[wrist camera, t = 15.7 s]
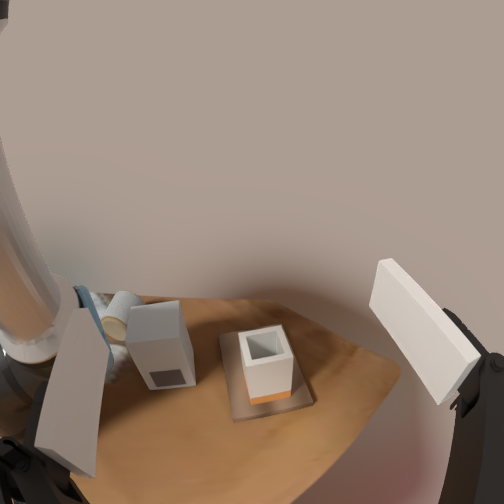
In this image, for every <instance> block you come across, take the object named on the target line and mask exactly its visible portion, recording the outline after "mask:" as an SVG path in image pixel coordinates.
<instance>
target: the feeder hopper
mask: <svg viewBox="0 0 504 504" xmlns="http://www.w3.org/2000/svg"><path fill="white" fill-rule="evenodd" d="M125 345H126V347H127V349H128V351H129V353H130V355H131V357H132V359H133V361H134V363H135V365H136V366H137V368H138V370H139V372H140V374H141V375H142V377H143V379H144V381H145V382H146V384H147V386H148V388H149V389H150V390H159V389H170V388H180V387H189V386H196V377H195V365H194V352H193V347H192V344H191V341H190V338H189V334H188V331H187V327H186V324H185V321H184V317H183V313H182V310H181V306H180V303H179V300H178V301H171V302H164V303H156V304H149V305H141V306H134V307H131V310H130V315H129V320H128V326H127V331H126V337H125Z"/></svg>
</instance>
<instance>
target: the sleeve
mask: <svg viewBox="0 0 504 504" xmlns="http://www.w3.org/2000/svg"><path fill="white" fill-rule="evenodd" d="M238 336H239V343H240V351H241V358H242V365H243V372H244V377H245V381H246V386H247V390H248V394H249V398H250V403H251V405H254V404H259V403H264V402H269V401H274V400H278V399H283V398H287V397H291V384H292V371H293V354H292V352H291V349H290V347H289V344H288V342H287V339H286V337H285V334H284V332H283V329H282V326H281V325H278V326H273V327H268V328H263V329H257V330H252V331H246V332H240V333H238Z"/></svg>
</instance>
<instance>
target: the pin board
mask: <svg viewBox="0 0 504 504" xmlns="http://www.w3.org/2000/svg"><path fill="white" fill-rule="evenodd" d="M278 325H281V326H282V329H283V332H284V334H285V337H286V339H287V342H288V344H289V347H290V349H291V352H292V354H293V371H292V384H291V397H287V398H283V399H278V400H274V401H269V402H264V403H259V404H254V405H251V403H250V398H249V394H248V390H247V386H246V381H245V377H244V372H243V365H242V358H241V351H240V343H239V336H238V333H240V332H246V331H252V330H257V329H263V328H268V327H273V326H278ZM218 336H219V342H220V348H221V354H222V360H223V366H224V372H225V378H226V384H227V389H228V395H229V400H230V406H231V411H232V416H233V421H234V423H235V422H241V421H246V420H252V419H257V418H262V417H267V416H272V415H276V414H281V413H285V412H289V411H293V410H297V409H301V408H305V407H309V406H312V405H313V400H312V397H311V395H310V392H309V390H308V387H307V384H306V382H305V379H304V377H303V374H302V372H301V369H300V367H299V364H298V362H297V359H296V357H295V354H294V352H293V349H292V347H291V344H290V342H289V339H288V337H287V334H286V332H285V329H284V327H283V324H282V323H278V324H273V325H268V326H263V327H257V328H252V329H246V330H240V331H235V332H229V333H222V334H218Z"/></svg>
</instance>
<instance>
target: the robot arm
mask: <svg viewBox="0 0 504 504" xmlns="http://www.w3.org/2000/svg"><path fill="white" fill-rule="evenodd" d="M8 5H9V0H0V33H1V32H2V31H3V29H4V28H5V27H6V25H7V23H8ZM369 307H370V308H371V309H372V310H373V312H374V313H375V315H376V316H377V317H378V319H379V320H380V321H381V323H382V324H383V326H384V327H385V328H386V329H387V331H388V332H389V334H390V335H391V337H392V338H393V339H394V341H395V342H396V344H397V345H398V347H399V348H400V350H401V351H402V352H403V354H404V355H405V357H406V358H407V360H408V361H409V362H410V364H411V365H412V367H413V368H414V370H415V371H416V373H417V374H418V376H419V377H420V379H421V380H422V382H423V383H424V385H425V386H426V388H427V389H428V391H429V393H430V394H431V396H432V397H433V399H434V400H435V402H436V404H437V405H440V404H442V403H443V402H445V401H447V400H448V399H450V398H451V397H452V396H453V394H454V393H455V392H456V391H457V390H458V392H459V393H460V395H459V396H458V397H457V398H456V399H455V401H454V402H453V403H452V404H451V406H450V409H451V410H452V409H453V407H454V406H455V405H456V404H457V407H456V408H455V410H456V419H455V427H454V434H453V440H452V446H451V452H450V457H449V463H448V467H447V472H446V476H445V481H444V485H443V488H442V492H441V496H440V499H439V503H438V504H504V356H502V355H501V354H498V353H489V352H487V351H486V349H485V348H484V347H483V346H482V344H481V343H480V342H479V341H478V340H477V338H476V337H475V336H474V335H473V334H472V333H471V332H470V330H468V329H467V327H466V326H465V325H464V324H462V321H461V320H460V319H459V318H458V317H457V316H456V315H455V314H454V313H452V312H451V311H449V310H448V309H446V308H444V309H441V308H440V307H439V306H438V305H437V304H436V303H435V302H434V301H433V300H432V299H431V298H430V297H429V295H427V293H425V291H424V290H423V289H422V288H421V287H420V286H419V285H418V284H417V283H416V282H415V281H414V280H413V279H412V278H411V277H410V276H409V275H408V274H407V273H406V272H405V271H404V270H403V269H402V268H401V267H400V266H399V265H398V264H397V263H396V262H395V261H394V260H393V259H392V258H390V259H385V260H380V261H379V262H378V267H377V272H376V277H375V281H374V286H373V290H372V295H371V299H370V303H369ZM113 364H114V358H113V354H112V351H111V348H110V345H109V343H108V340H107V338H106V335H105V334H104V330H103V327H102V324H101V321H100V319H99V316H98V313H97V311H96V308H95V305H94V303H93V300H92V298H91V295H90V293H89V291H88V289H87V288H86V287H85V286H75V287H72V286H71V284H70V283H69V282H68V281H67V280H66V279H65V278H63V277H61V276H59V275H57V274H53V273H51V272H50V270H49V268H48V266H47V264H46V262H45V260H44V258H43V256H42V254H41V252H40V250H39V247H38V245H37V243H36V241H35V239H34V236H33V234H32V232H31V229H30V227H29V225H28V222H27V220H26V217H25V215H24V212H23V210H22V207H21V204H20V201H19V199H18V196H17V193H16V190H15V187H14V184H13V181H12V178H11V175H10V172H9V168H8V165H7V161H6V158H5V154H4V150H3V147H2V142H1V138H0V436H1V437H2V438H1V439H0V504H13V503H12V499H13V501H14V504H90V503H89V502H88V501H87V499H86V498H85V497H84V495H83V494H82V493H81V491H80V490H79V488H78V487H77V485H76V484H75V482H74V481H73V480H72V479H71V478H70V471H71V472H72V473H74V474H76V475H77V476H81V477H88V478H95V470H96V452H97V438H98V428H99V418H100V409H101V402H102V394H103V387H104V381H105V375H106V372H108V371H109V370H110V369H111V368H112V367H113ZM11 498H12V499H11Z"/></svg>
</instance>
